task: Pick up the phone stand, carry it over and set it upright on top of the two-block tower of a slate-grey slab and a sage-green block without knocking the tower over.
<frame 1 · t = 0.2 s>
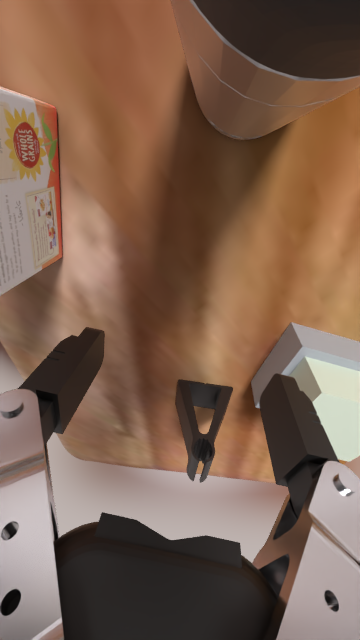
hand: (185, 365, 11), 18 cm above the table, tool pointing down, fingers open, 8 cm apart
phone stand: (202, 393, 39), on the table
cracker box: (35, 186, 24), on the table
tower top block: (320, 393, 29), point 5 cm above the table
tower base slab: (307, 363, 33), on the table
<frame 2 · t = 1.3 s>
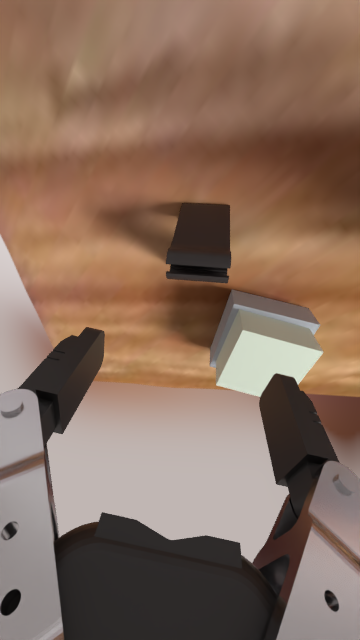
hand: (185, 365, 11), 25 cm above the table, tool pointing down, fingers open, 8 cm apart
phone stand: (203, 240, 32), on the table
tower top block: (258, 345, 34), point 5 cm above the table
tower base slab: (254, 328, 38), on the table
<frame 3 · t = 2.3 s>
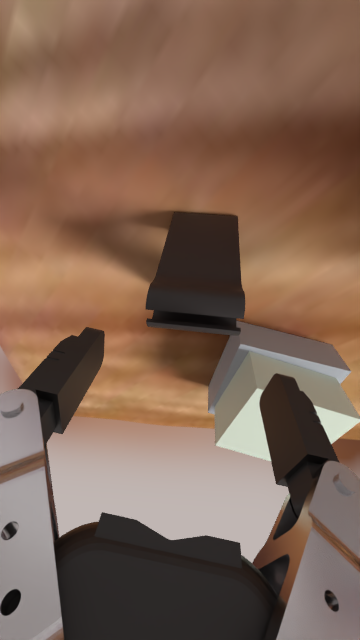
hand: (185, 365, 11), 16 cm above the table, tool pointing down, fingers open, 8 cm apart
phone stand: (201, 259, 24), on the table
tower top block: (269, 393, 27), point 5 cm above the table, touching tower base slab
tower base slab: (263, 365, 31), on the table, touching tower top block
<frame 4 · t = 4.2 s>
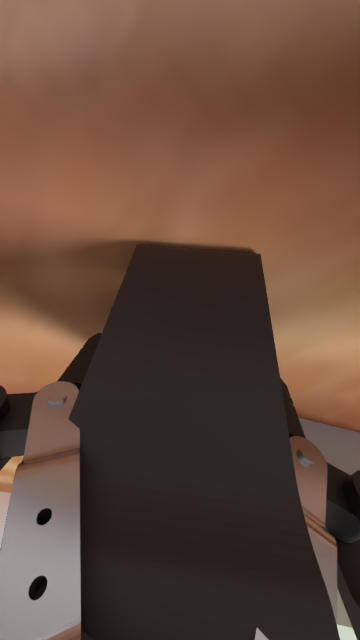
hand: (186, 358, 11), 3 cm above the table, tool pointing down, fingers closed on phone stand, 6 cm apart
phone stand: (191, 321, 14), on the table, touching gripper
tower top block: (307, 528, 17), point 5 cm above the table, touching tower base slab
tower base slab: (288, 457, 21), on the table, touching tower top block
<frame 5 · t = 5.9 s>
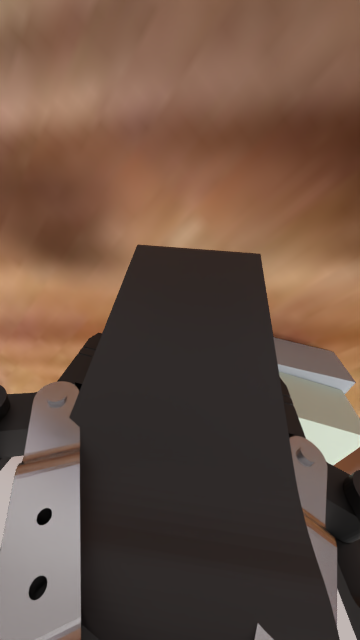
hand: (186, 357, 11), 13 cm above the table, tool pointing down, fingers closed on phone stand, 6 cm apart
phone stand: (191, 320, 14), point 10 cm above the table, touching gripper
tower top block: (271, 406, 25), point 5 cm above the table, touching tower base slab
tower base slab: (261, 373, 30), on the table, touching tower top block
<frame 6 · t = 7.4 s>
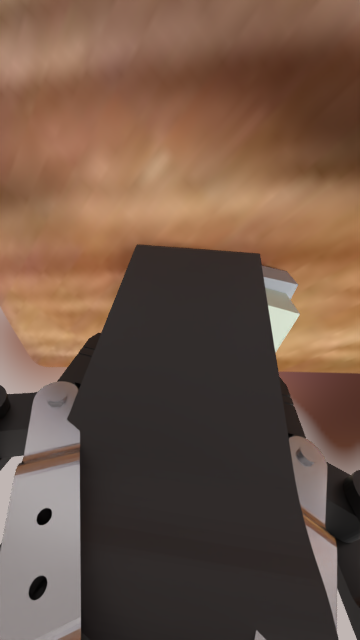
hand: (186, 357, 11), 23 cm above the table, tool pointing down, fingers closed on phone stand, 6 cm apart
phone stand: (191, 320, 14), point 20 cm above the table, touching gripper
tower top block: (232, 316, 31), point 5 cm above the table
tower base slab: (230, 298, 35), on the table
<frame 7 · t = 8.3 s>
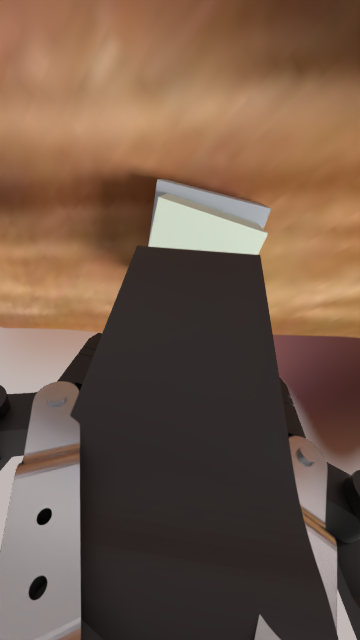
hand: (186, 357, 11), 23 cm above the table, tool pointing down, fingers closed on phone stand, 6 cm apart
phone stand: (191, 321, 14), point 20 cm above the table, touching gripper
tower top block: (198, 253, 27), point 5 cm above the table, touching tower base slab
tower base slab: (200, 241, 31), on the table, touching tower top block
when the fingers open (15 cm above the table, at t = 10.6 s): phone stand drops 2 cm, resting on tower top block.
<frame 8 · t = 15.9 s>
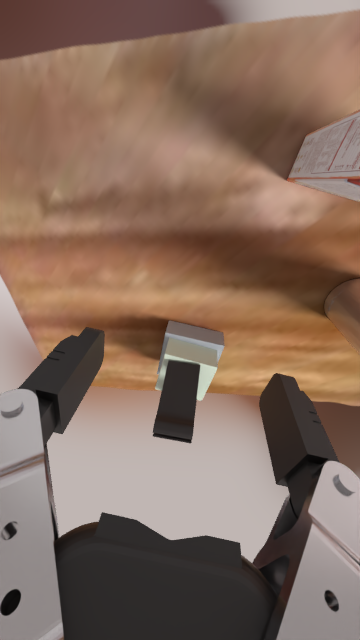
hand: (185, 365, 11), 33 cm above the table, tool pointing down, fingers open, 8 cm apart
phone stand: (182, 378, 45), point 9 cm above the table, touching tower top block
cracker box: (340, 170, 33), on the table
tower top block: (186, 361, 49), point 4 cm above the table, touching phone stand, tower base slab
tower base slab: (190, 346, 53), on the table, touching tower top block
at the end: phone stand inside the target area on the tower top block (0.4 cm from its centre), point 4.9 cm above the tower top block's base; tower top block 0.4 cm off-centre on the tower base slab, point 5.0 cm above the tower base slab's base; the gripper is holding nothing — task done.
